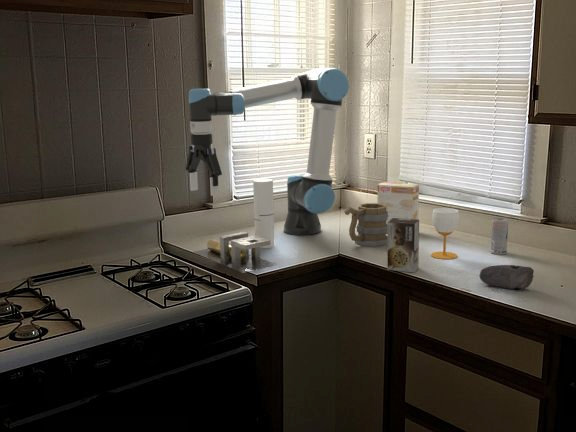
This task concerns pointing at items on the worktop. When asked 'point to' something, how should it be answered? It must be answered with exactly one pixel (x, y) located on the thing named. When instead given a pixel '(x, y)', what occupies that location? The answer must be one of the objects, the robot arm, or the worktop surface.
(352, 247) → the worktop surface
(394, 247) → the grey cookie box
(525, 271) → the perforated stone tool
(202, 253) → the hearth plate
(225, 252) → the grey angled bracket piece
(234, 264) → the white stool-shaped bracket
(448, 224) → the cup
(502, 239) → the energy drink
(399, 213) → the coffeecake box
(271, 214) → the cylindrical container
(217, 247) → the tan cylinder
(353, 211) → the tankard
